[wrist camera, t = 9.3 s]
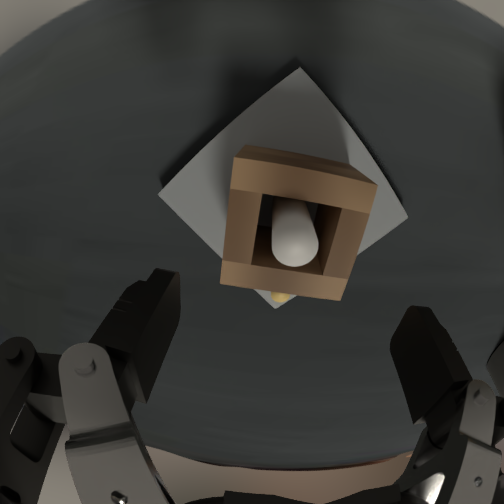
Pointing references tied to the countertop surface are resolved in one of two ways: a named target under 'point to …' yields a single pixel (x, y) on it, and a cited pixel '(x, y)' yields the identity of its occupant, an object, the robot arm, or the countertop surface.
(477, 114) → the countertop surface
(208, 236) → the post board
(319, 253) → the wooden square frame
